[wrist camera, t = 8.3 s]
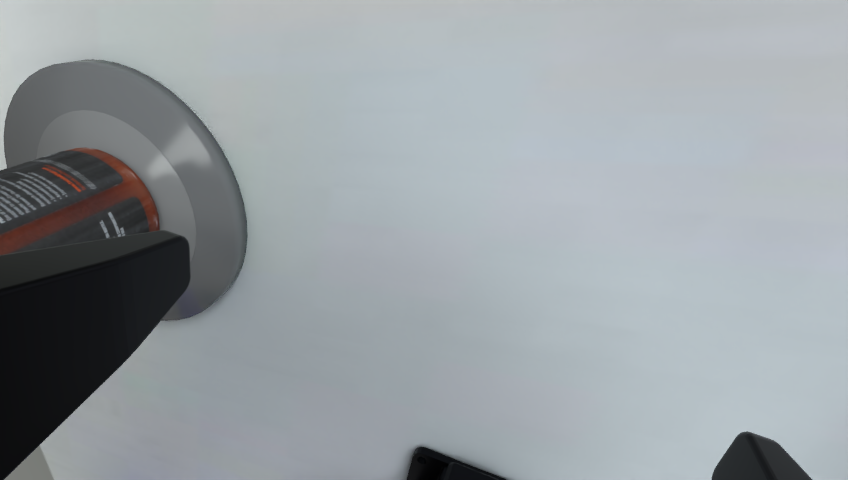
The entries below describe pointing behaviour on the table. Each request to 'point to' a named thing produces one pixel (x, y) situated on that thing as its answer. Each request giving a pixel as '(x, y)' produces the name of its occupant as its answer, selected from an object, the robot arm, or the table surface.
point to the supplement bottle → (72, 201)
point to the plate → (141, 159)
